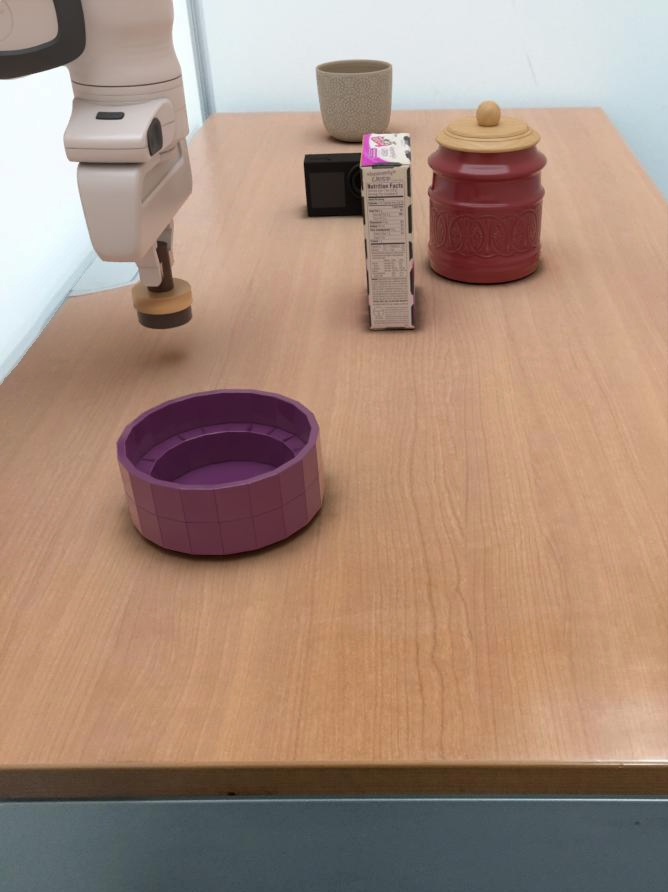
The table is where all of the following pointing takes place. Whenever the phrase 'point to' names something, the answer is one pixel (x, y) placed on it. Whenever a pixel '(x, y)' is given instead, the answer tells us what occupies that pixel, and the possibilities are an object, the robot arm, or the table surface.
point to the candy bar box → (388, 230)
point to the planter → (355, 97)
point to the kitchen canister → (486, 198)
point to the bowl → (222, 470)
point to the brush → (163, 298)
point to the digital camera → (333, 184)
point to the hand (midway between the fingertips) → (158, 276)
